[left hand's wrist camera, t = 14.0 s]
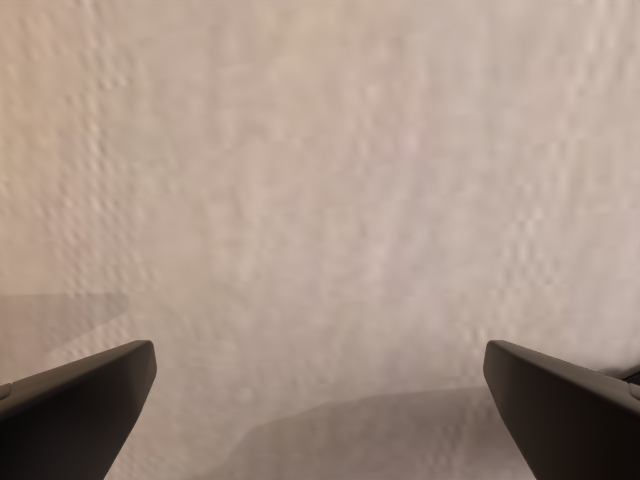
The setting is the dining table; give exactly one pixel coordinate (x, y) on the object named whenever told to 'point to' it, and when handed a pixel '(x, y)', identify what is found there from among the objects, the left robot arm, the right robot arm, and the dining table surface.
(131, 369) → the left robot arm
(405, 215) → the dining table surface
